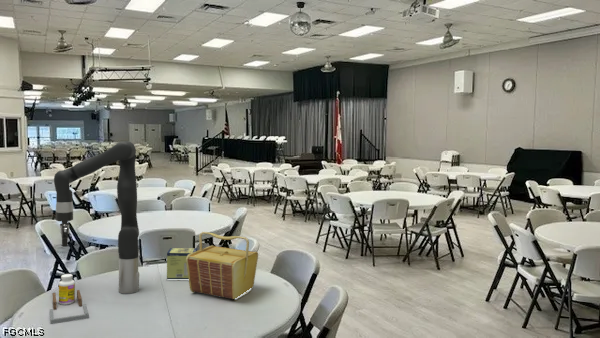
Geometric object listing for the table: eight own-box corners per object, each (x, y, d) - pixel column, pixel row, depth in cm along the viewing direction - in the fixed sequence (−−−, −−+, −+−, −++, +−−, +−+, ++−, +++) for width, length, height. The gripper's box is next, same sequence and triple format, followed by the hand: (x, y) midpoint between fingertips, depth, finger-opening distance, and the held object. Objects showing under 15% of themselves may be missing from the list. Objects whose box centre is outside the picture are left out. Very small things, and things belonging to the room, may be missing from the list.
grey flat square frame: (85, 307, 208) (85, 304, 208) (88, 317, 196) (88, 314, 196) (49, 312, 201) (49, 309, 200) (50, 323, 189) (50, 320, 189)
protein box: (169, 274, 259) (169, 247, 258) (197, 275, 261) (198, 248, 260) (166, 280, 249) (166, 252, 248) (195, 280, 250) (195, 252, 249)
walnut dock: (79, 296, 220) (79, 289, 220) (81, 306, 209) (81, 298, 209) (52, 300, 215) (52, 293, 214) (53, 310, 203) (53, 302, 203)
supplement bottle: (68, 305, 209) (68, 278, 208) (55, 304, 210) (55, 276, 209) (78, 300, 215) (78, 274, 214) (65, 299, 217) (65, 272, 216)
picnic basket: (183, 295, 227) (184, 235, 225) (211, 280, 251) (213, 226, 249) (234, 305, 217) (236, 242, 214) (259, 289, 240) (261, 232, 238)
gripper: (74, 212, 220) (74, 248, 222) (72, 208, 232) (72, 241, 234) (56, 213, 217) (56, 249, 218) (55, 208, 229) (55, 243, 230)
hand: (64, 245), depth 226 cm, fingers open, 3 cm apart
